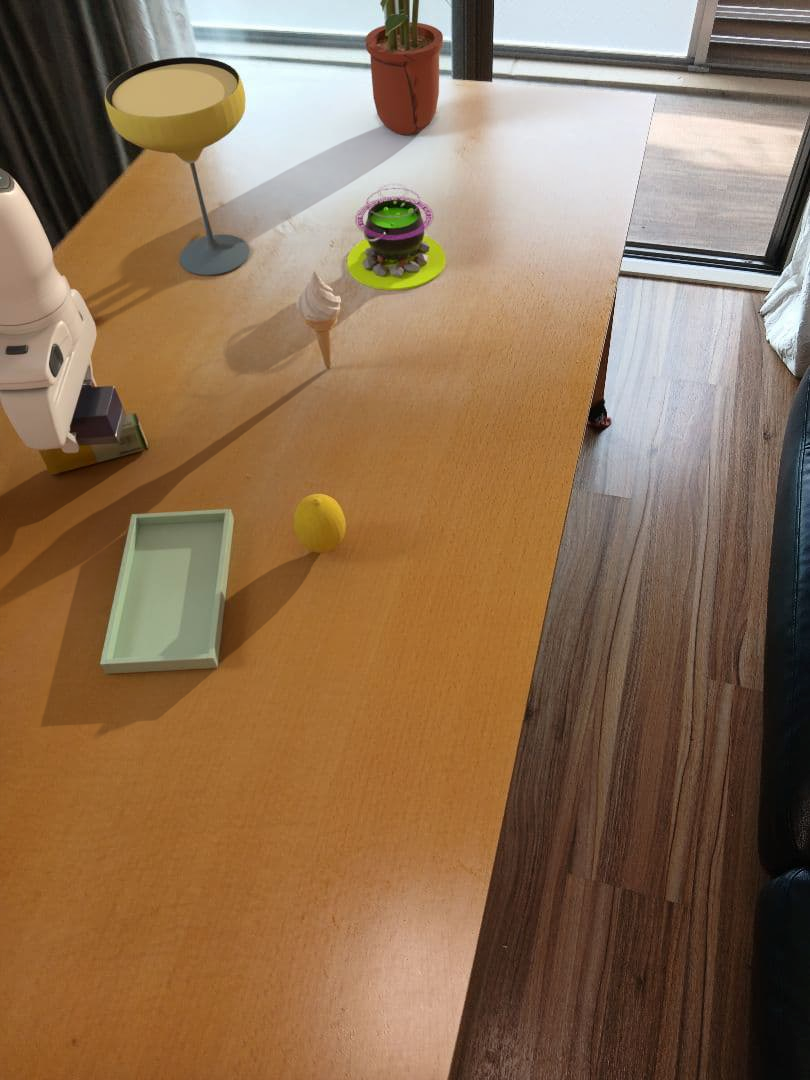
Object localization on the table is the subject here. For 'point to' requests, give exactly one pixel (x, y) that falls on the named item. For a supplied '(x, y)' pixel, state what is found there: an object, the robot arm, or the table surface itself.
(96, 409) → the eraser
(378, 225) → the toy cauldron
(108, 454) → the medication box
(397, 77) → the potted plant
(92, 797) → the table surface
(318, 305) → the ice cream cone
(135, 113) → the cocktail glass
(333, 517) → the lemon
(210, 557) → the tray
